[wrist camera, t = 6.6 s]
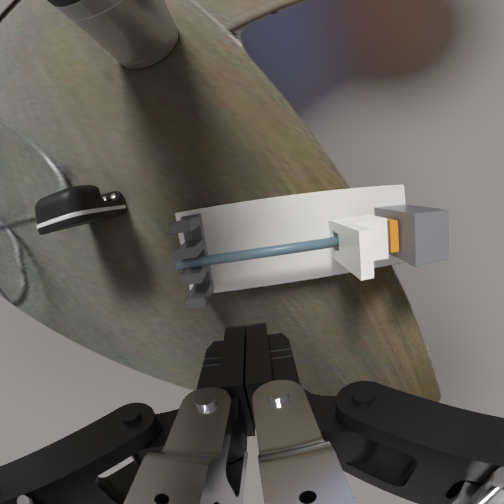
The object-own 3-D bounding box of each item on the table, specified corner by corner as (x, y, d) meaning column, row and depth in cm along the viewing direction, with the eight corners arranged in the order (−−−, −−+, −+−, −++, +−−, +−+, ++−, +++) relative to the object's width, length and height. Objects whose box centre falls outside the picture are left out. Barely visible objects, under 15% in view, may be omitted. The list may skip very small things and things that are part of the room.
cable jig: (178, 212, 31) (146, 221, 21) (397, 184, 31) (447, 184, 20) (193, 291, 34) (171, 330, 23) (402, 259, 33) (448, 282, 23)
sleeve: (328, 220, 28) (358, 230, 19) (370, 214, 28) (411, 223, 19) (331, 256, 29) (361, 280, 20) (372, 250, 28) (411, 270, 20)
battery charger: (124, 183, 31) (72, 181, 19) (129, 212, 31) (78, 223, 20) (82, 196, 31) (26, 201, 20) (87, 223, 32) (32, 237, 20)
